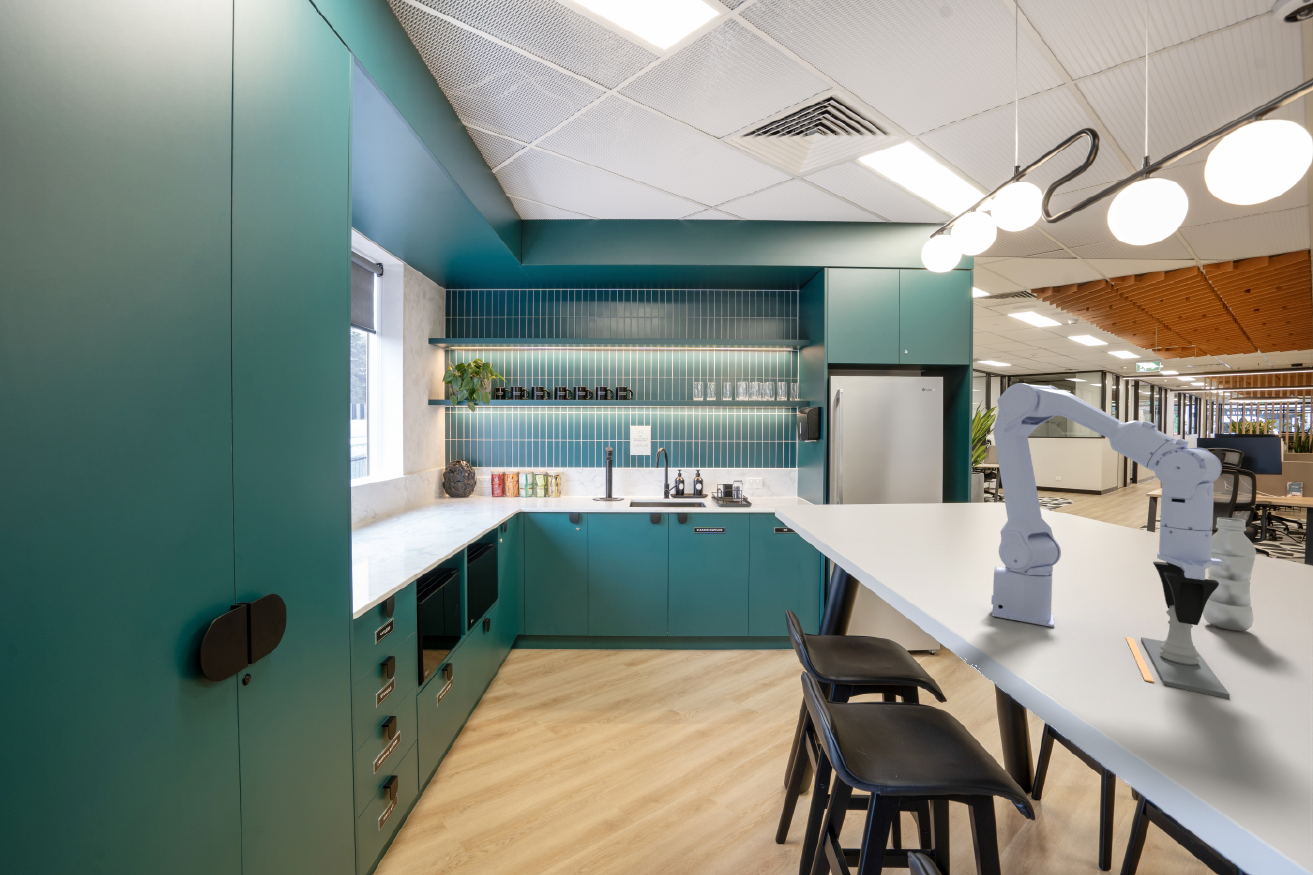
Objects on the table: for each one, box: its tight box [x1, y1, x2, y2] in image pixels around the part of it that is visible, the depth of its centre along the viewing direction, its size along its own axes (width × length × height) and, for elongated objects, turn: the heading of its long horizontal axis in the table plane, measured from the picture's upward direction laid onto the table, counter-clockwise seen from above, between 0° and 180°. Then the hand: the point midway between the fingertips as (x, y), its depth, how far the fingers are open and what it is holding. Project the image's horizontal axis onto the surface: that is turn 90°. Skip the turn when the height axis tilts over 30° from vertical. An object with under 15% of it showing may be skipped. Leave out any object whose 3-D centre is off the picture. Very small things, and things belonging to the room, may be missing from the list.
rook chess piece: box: [1160, 605, 1200, 665], centre depth 84 cm, size 4×4×8 cm
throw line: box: [1125, 636, 1155, 683], centre depth 86 cm, size 1×20×1 cm, turn 146°
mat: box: [1140, 636, 1231, 699], centre depth 83 cm, size 6×20×1 cm, turn 145°
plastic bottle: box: [1202, 517, 1257, 632], centre depth 100 cm, size 6×7×20 cm
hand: (1181, 616), depth 84 cm, fingers open, 7 cm apart
